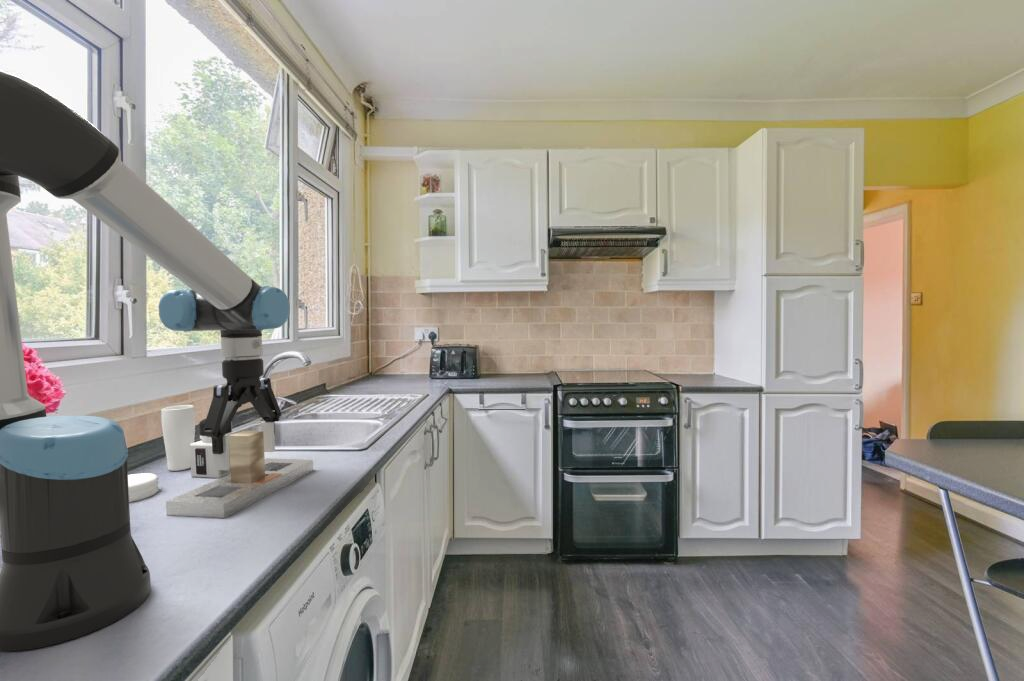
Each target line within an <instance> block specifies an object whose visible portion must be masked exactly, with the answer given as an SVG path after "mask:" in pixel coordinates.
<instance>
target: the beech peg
mask: <svg viewBox="0 0 1024 681" xmlns="http://www.w3.org/2000/svg"><path fill="white" fill-rule="evenodd" d="M229 450H230V470H231V483H253V482H255V481H257V480H259V479H261V478H263V477H265V459H266V458H265V452H264V436H263V431H261V430H243V431H239V432H236V433H232V435H230V436H229Z"/></svg>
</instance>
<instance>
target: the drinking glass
mask: <svg viewBox="0 0 1024 681" xmlns="http://www.w3.org/2000/svg"><path fill="white" fill-rule="evenodd" d="M160 417H161V418H160V422H161V428H162V436H163V442H164V450H165V456H166V462H167V466H166V467H167V470H169V471H170V472H179V471H185V470H188V469H191V460H190V444H191V443H195V434H196V412H195V405H193V404H180V405H171V406H167V407H163V408H161V412H160Z"/></svg>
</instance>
